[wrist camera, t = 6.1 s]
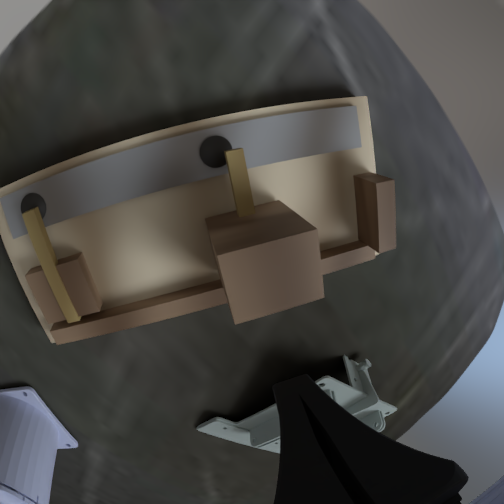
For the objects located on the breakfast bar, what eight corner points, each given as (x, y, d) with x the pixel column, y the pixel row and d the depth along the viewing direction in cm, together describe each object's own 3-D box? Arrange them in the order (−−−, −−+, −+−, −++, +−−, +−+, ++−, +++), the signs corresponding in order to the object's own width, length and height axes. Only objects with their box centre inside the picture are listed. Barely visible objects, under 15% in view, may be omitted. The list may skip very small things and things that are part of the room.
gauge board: (56, 332, 18) (41, 366, 15) (-4, 190, 14) (-35, 205, 11) (370, 247, 21) (400, 268, 18) (356, 96, 17) (391, 94, 14)
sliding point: (218, 273, 18) (235, 324, 13) (190, 157, 15) (196, 171, 11) (287, 254, 18) (324, 297, 14) (268, 140, 16) (306, 147, 11)
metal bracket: (322, 384, 18) (419, 424, 24) (308, 315, 22) (402, 376, 28) (186, 449, 23) (303, 475, 29) (191, 394, 28) (297, 432, 34)
